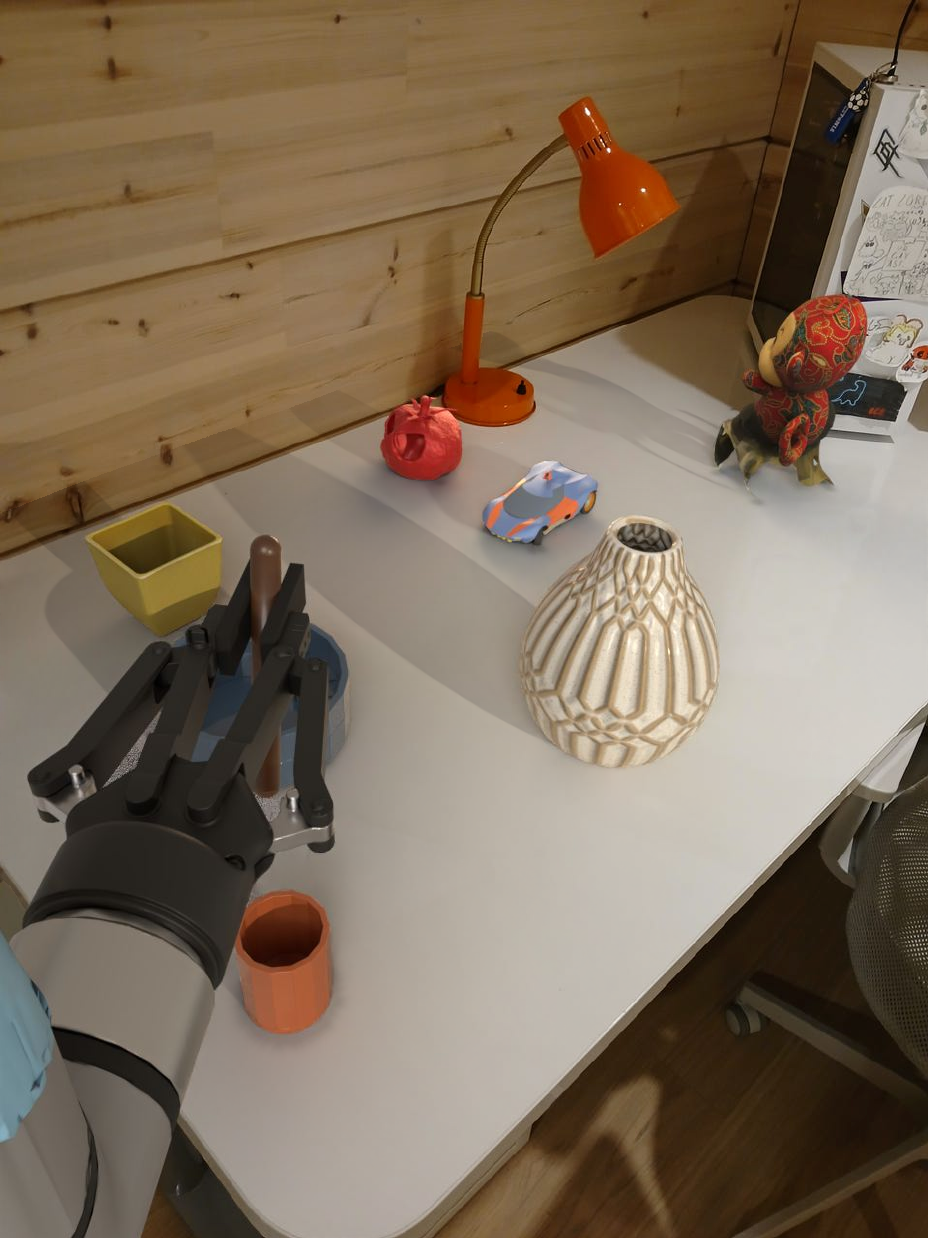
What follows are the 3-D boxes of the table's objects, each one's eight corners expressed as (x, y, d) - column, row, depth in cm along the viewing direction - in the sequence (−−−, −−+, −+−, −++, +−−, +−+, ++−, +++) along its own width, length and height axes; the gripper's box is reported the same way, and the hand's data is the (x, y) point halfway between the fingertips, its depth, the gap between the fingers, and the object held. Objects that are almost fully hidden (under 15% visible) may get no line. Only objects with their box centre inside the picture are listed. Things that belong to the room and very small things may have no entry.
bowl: (135, 785, 74) (122, 731, 71) (196, 657, 86) (187, 605, 83) (329, 806, 74) (327, 753, 70) (363, 675, 86) (363, 622, 82)
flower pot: (153, 659, 86) (138, 578, 80) (100, 614, 90) (82, 534, 85) (234, 616, 91) (224, 537, 85) (180, 576, 95) (167, 498, 90)
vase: (641, 652, 90) (684, 465, 78) (734, 774, 79) (802, 579, 66) (484, 686, 85) (502, 492, 73) (558, 821, 74) (595, 619, 61)
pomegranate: (436, 439, 120) (439, 369, 114) (477, 477, 114) (483, 404, 108) (365, 456, 116) (364, 384, 110) (403, 496, 109) (404, 422, 104)
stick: (249, 802, 55) (245, 539, 49) (256, 786, 57) (254, 529, 50) (276, 805, 55) (277, 542, 49) (283, 789, 57) (285, 532, 50)
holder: (233, 1029, 60) (221, 967, 55) (256, 948, 64) (248, 885, 60) (322, 1040, 60) (317, 979, 55) (339, 957, 64) (337, 894, 60)
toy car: (465, 532, 104) (468, 490, 101) (542, 480, 114) (547, 440, 111) (526, 561, 101) (531, 518, 97) (600, 505, 110) (607, 464, 107)
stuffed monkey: (838, 447, 121) (917, 271, 101) (823, 541, 112) (906, 368, 92) (720, 419, 124) (774, 242, 104) (695, 509, 114) (749, 333, 94)
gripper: (-49, 996, 37) (158, 619, 56) (320, 1041, 37) (407, 646, 55) (-110, 879, 33) (138, 510, 51) (312, 929, 32) (410, 538, 51)
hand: (278, 581), depth 53 cm, fingers closed on stick, 1 cm apart
